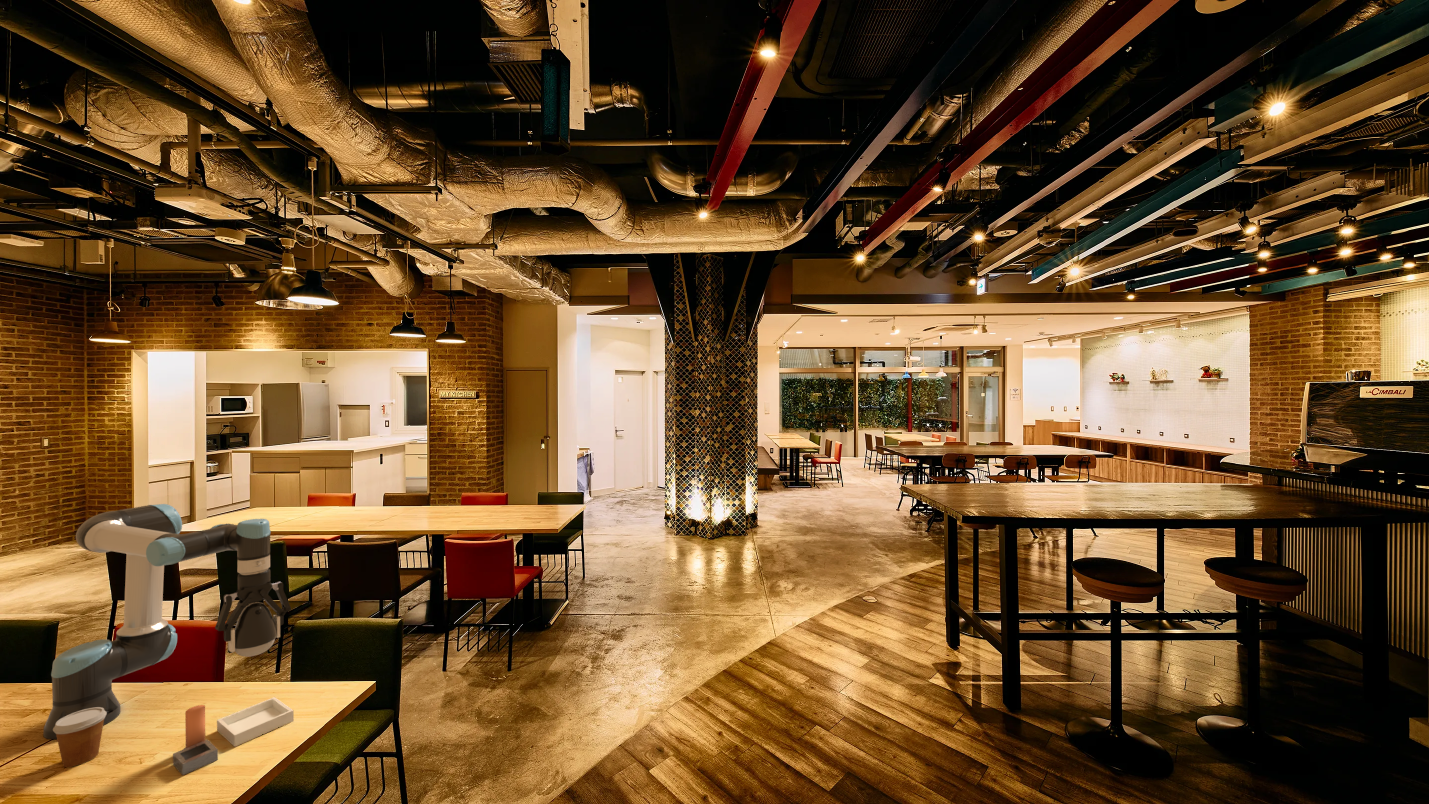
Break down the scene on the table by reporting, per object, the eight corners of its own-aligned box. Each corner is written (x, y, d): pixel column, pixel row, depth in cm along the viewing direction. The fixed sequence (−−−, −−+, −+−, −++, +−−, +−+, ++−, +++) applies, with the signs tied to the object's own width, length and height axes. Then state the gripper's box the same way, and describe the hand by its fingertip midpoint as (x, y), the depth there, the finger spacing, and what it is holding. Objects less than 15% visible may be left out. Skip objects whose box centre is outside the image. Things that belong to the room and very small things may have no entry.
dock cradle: (217, 730, 157) (216, 719, 157) (274, 707, 169) (274, 696, 169) (234, 746, 150) (234, 735, 150) (293, 720, 162) (293, 710, 162)
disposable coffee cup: (69, 773, 139) (68, 729, 139) (43, 768, 141) (43, 724, 141) (116, 750, 149) (116, 708, 149) (91, 745, 151) (91, 704, 151)
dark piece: (239, 664, 152) (239, 612, 152) (226, 655, 158) (226, 605, 158) (282, 650, 161) (282, 601, 161) (269, 641, 166) (268, 594, 166)
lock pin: (183, 748, 149) (183, 710, 149) (202, 741, 152) (202, 703, 152) (188, 754, 146) (187, 714, 146) (207, 745, 150) (207, 707, 150)
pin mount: (173, 764, 143) (172, 753, 143) (207, 749, 149) (207, 739, 149) (182, 775, 139) (182, 764, 139) (217, 759, 145) (217, 749, 145)
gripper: (208, 584, 148) (209, 662, 148) (304, 562, 167) (304, 631, 167) (199, 580, 151) (200, 656, 152) (293, 559, 171) (294, 626, 171)
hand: (254, 643), depth 159 cm, fingers closed on dark piece, 10 cm apart
